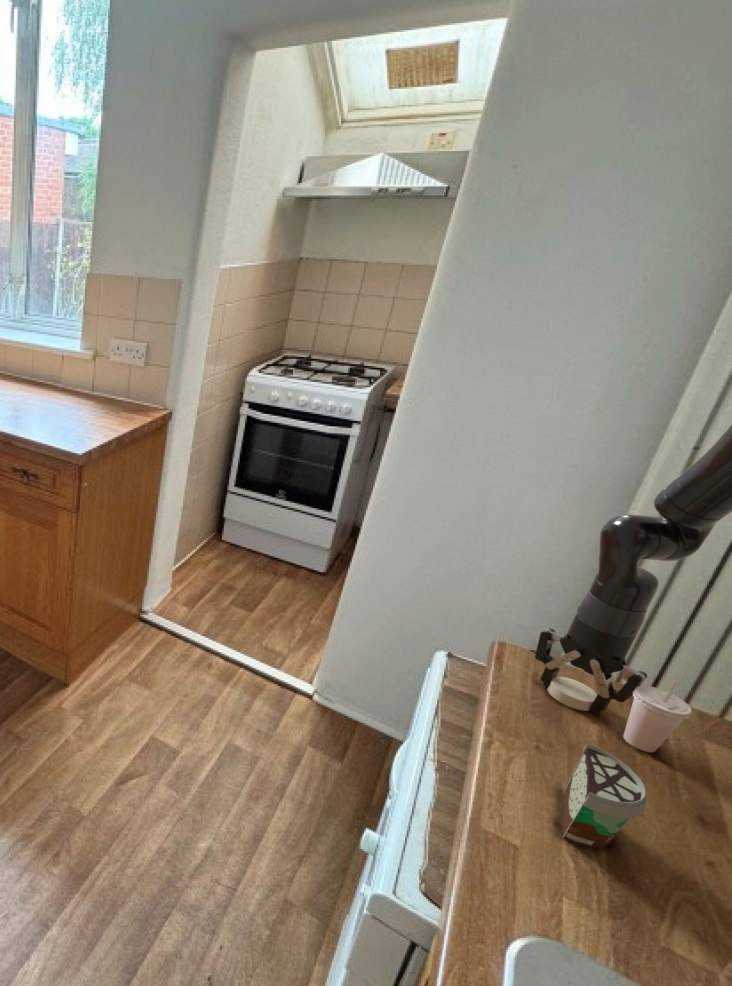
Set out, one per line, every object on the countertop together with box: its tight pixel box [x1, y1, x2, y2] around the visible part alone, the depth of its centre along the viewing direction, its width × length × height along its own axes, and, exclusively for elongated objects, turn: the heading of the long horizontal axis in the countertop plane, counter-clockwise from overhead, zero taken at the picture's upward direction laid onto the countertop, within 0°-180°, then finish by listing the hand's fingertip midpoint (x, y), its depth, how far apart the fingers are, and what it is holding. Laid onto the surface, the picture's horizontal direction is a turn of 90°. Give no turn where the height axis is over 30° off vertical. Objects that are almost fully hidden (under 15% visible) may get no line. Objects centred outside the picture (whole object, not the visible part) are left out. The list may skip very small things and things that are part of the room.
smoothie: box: [622, 678, 693, 753], centre depth 97 cm, size 6×6×14 cm
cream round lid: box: [547, 676, 598, 712], centre depth 108 cm, size 6×6×3 cm
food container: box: [562, 742, 648, 848], centre depth 83 cm, size 12×6×10 cm, turn 137°
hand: (570, 696), depth 109 cm, fingers closed on cream round lid, 6 cm apart
